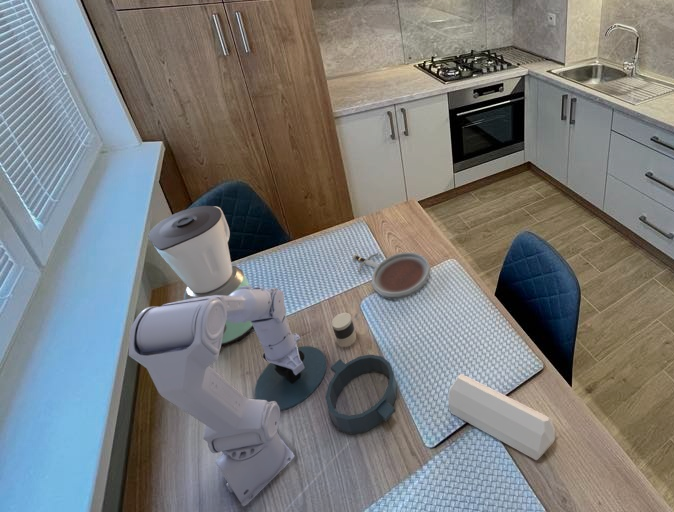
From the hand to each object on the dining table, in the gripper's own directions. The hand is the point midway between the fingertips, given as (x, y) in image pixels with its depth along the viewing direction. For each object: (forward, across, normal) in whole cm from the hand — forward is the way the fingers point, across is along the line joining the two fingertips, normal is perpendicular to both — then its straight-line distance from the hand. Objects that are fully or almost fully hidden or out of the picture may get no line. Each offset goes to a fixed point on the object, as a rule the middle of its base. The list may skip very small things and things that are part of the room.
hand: (291, 374), depth 93 cm
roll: (+1, -2, -13) cm, 13 cm away
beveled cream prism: (+2, -45, -20) cm, 49 cm away
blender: (+2, +27, +1) cm, 27 cm away
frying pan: (+2, +8, -34) cm, 35 cm away
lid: (+1, 0, 0) cm, 1 cm away
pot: (+1, -18, -6) cm, 19 cm away
